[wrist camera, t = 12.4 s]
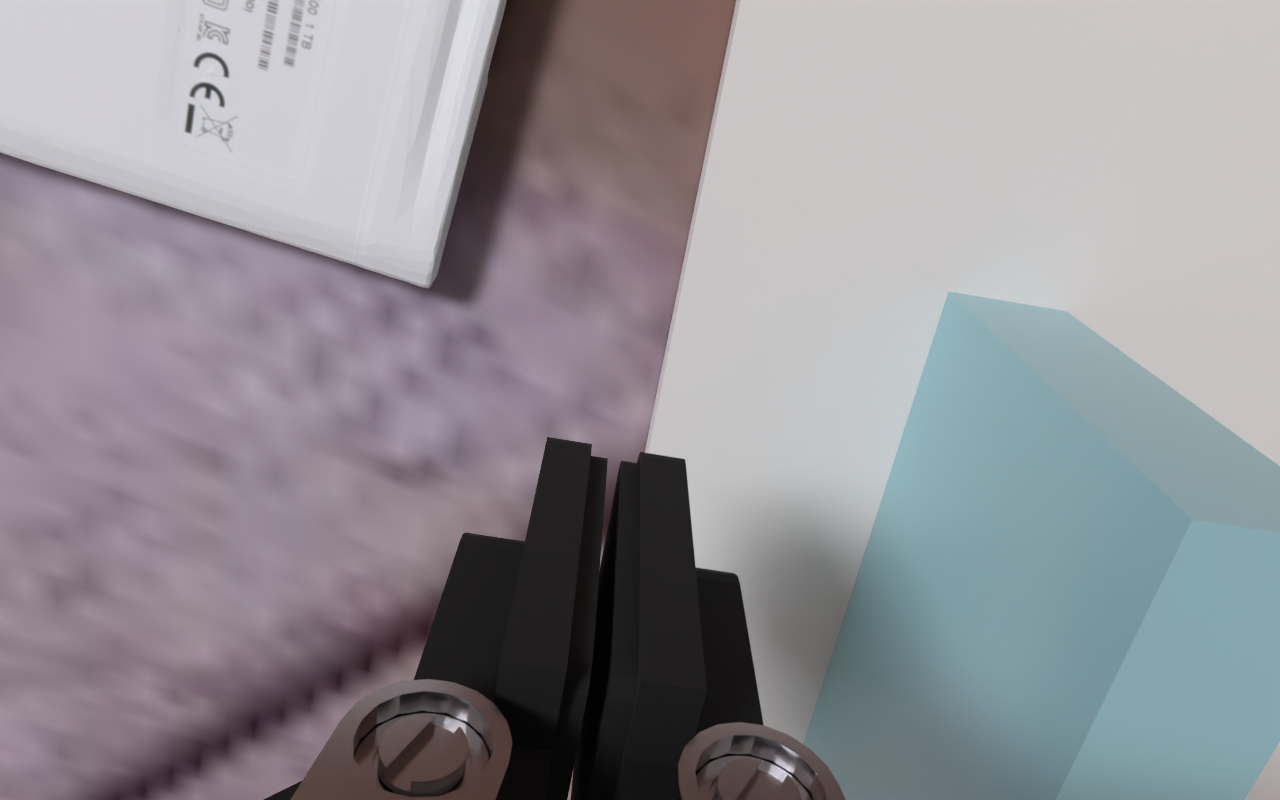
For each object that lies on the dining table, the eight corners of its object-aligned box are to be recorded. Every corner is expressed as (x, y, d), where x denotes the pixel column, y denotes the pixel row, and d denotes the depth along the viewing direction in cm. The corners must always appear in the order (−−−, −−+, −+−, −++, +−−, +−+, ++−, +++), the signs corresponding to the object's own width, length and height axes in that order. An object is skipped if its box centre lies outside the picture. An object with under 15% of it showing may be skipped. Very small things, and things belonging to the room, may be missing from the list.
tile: (894, 762, 19) (1027, 1157, 12) (800, 750, 19) (886, 1144, 12) (1065, 310, 15) (1396, 550, 8) (948, 291, 15) (1191, 519, 8)
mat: (1225, 851, 21) (1241, 874, 20) (581, 767, 20) (579, 790, 19) (1747, 14, 13) (1796, 14, 13) (776, -194, 12) (782, -204, 12)
